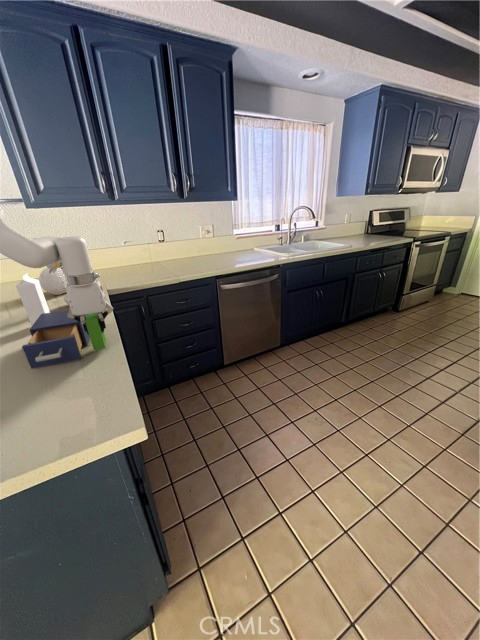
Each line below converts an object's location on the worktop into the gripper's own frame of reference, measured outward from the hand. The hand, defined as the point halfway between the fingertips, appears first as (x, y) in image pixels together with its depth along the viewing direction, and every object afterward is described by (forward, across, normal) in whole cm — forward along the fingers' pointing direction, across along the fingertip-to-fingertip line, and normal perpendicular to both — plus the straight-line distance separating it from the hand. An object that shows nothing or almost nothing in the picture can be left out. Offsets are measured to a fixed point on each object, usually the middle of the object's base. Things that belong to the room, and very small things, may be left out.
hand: (96, 331), depth 89 cm
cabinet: (+7, +12, -12) cm, 18 cm away
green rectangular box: (+6, 0, 0) cm, 6 cm away
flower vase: (+7, +15, -56) cm, 58 cm away
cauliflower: (+7, +26, -83) cm, 87 cm away
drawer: (+6, +12, +2) cm, 14 cm away
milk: (+7, +24, -32) cm, 41 cm away
